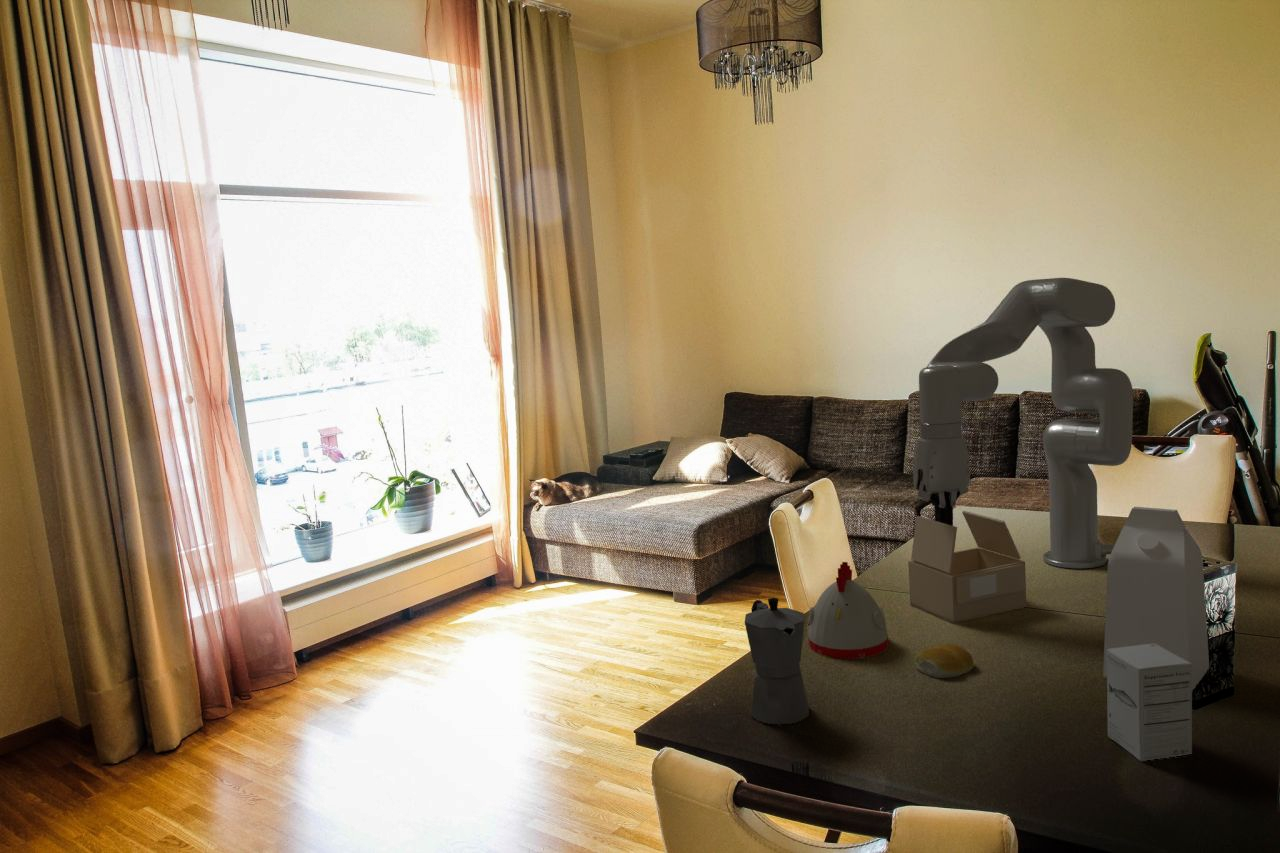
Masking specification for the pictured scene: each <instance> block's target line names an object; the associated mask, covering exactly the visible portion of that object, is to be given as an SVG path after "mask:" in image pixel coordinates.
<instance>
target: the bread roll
mask: <svg viewBox="0 0 1280 853" xmlns="http://www.w3.org/2000/svg"><path fill="white" fill-rule="evenodd" d="M914 666H915V668H916V670H917V671H919V672H920V673H922V674H924V675H926V676H928V675H929V677H931V676H932V677H931V678H937V679H950V678H951V679H952V678H955V677H956V678H957V677H959V676H961V675H962V674H967V673H970V672H971V671H972V670H973V668H974V660H973V657H972V655H971V654H970V652H969V651H968V650H967V649H966V648H965V647H963V646H961V645H958V644H954V643H943V644H938V645H934V646H932V647H930V648H926V649H922V650H921V651H919V652H918V654H917V655H916V657H915V660H914Z"/></svg>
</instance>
